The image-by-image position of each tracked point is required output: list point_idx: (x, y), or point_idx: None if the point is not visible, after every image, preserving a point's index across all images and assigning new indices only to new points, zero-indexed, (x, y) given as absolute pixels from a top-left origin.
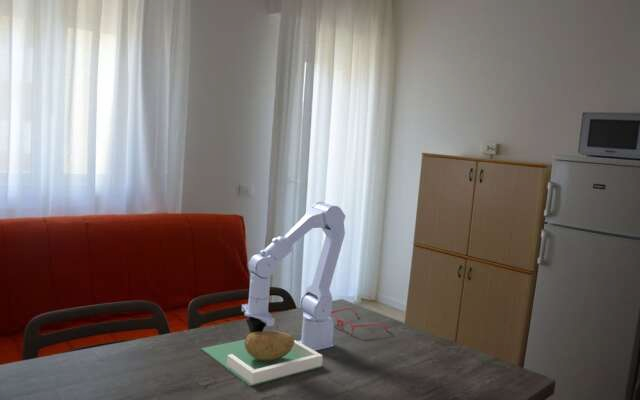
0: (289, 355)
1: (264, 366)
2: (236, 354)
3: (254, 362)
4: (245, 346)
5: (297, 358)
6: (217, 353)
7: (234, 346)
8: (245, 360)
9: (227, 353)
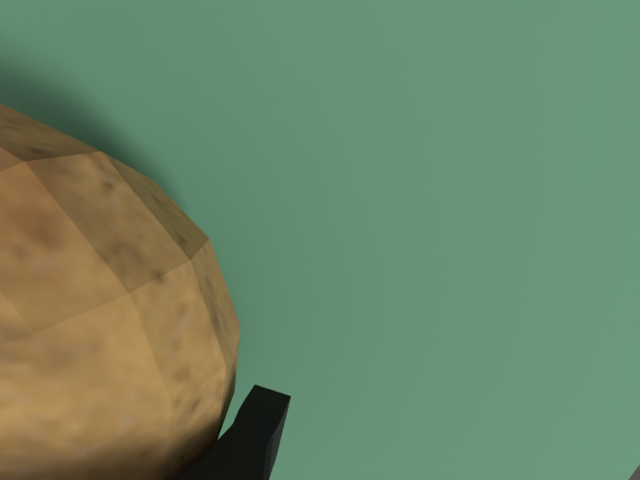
0: None
1: None
2: (393, 186)
3: None
4: (64, 138)
5: None
6: (614, 13)
7: (572, 330)
8: (209, 141)
9: (495, 123)
